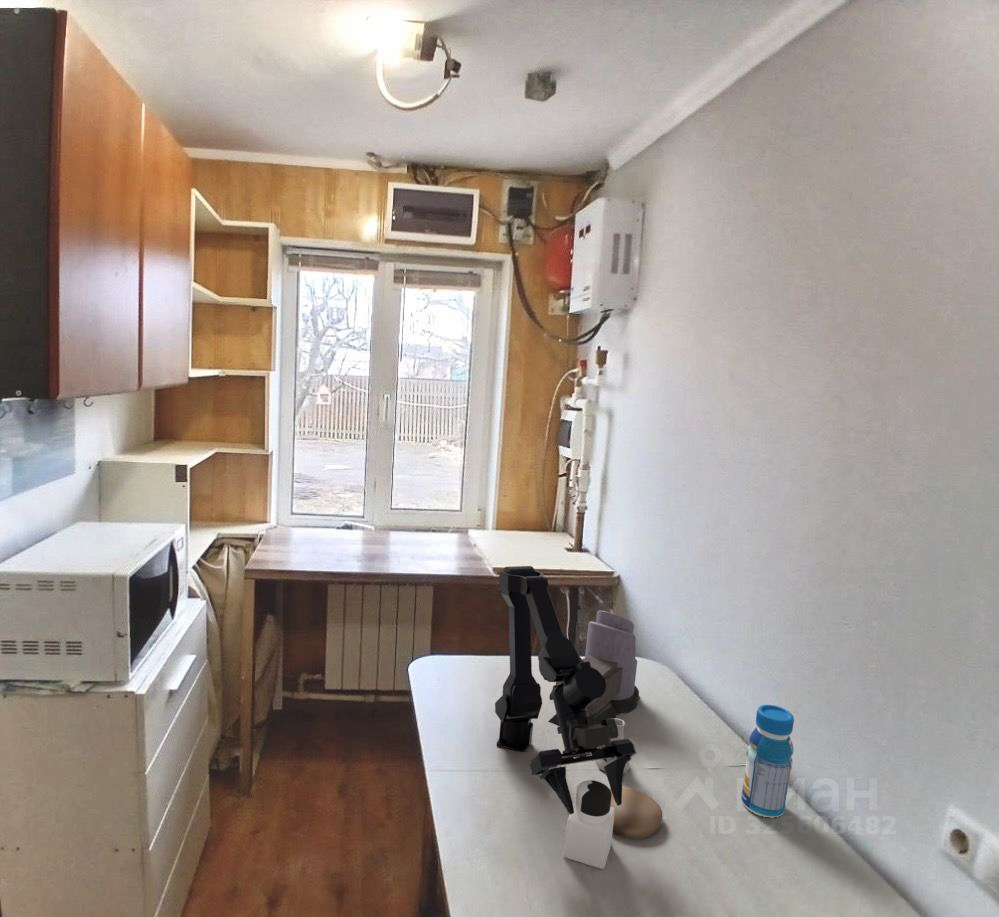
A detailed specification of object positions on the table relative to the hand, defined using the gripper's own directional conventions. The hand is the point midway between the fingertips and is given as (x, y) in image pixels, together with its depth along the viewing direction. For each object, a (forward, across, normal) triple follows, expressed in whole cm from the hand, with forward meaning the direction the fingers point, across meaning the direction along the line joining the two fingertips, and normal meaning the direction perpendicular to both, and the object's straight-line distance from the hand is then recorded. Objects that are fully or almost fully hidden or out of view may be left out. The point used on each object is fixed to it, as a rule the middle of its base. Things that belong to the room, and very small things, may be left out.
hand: (596, 809), depth 116 cm
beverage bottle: (+4, +40, +9) cm, 42 cm away
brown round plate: (+1, +12, +11) cm, 17 cm away
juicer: (-27, +27, +39) cm, 55 cm away
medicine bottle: (+5, 0, +7) cm, 9 cm away
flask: (-10, +18, +23) cm, 30 cm away
